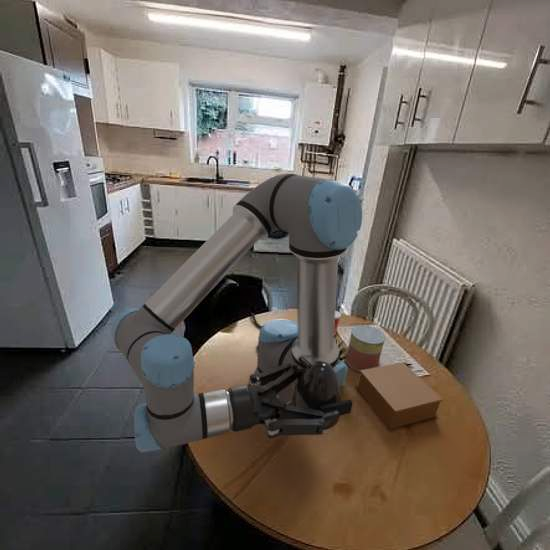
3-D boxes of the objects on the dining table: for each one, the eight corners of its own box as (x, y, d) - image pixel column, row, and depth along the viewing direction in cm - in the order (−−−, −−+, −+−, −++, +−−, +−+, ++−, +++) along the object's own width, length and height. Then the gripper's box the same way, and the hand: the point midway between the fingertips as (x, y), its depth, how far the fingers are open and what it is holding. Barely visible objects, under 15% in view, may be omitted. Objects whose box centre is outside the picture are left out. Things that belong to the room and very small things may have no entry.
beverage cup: (320, 328, 130) (325, 299, 124) (334, 328, 131) (339, 298, 126) (325, 337, 124) (330, 306, 119) (339, 336, 125) (345, 306, 120)
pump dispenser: (305, 396, 72) (313, 341, 66) (345, 421, 66) (358, 363, 60) (278, 423, 64) (284, 364, 59) (321, 453, 59) (332, 391, 53)
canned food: (380, 375, 105) (387, 345, 101) (346, 369, 106) (352, 340, 102) (375, 355, 116) (382, 327, 111) (345, 350, 117) (350, 323, 112)
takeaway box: (356, 387, 99) (360, 370, 96) (398, 379, 104) (403, 362, 101) (389, 430, 84) (395, 411, 82) (436, 417, 90) (443, 399, 87)
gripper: (218, 384, 67) (312, 367, 74) (242, 482, 48) (364, 447, 55) (218, 355, 64) (315, 341, 71) (244, 448, 45) (373, 416, 52)
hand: (337, 387), depth 63 cm, fingers closed on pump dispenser, 9 cm apart
